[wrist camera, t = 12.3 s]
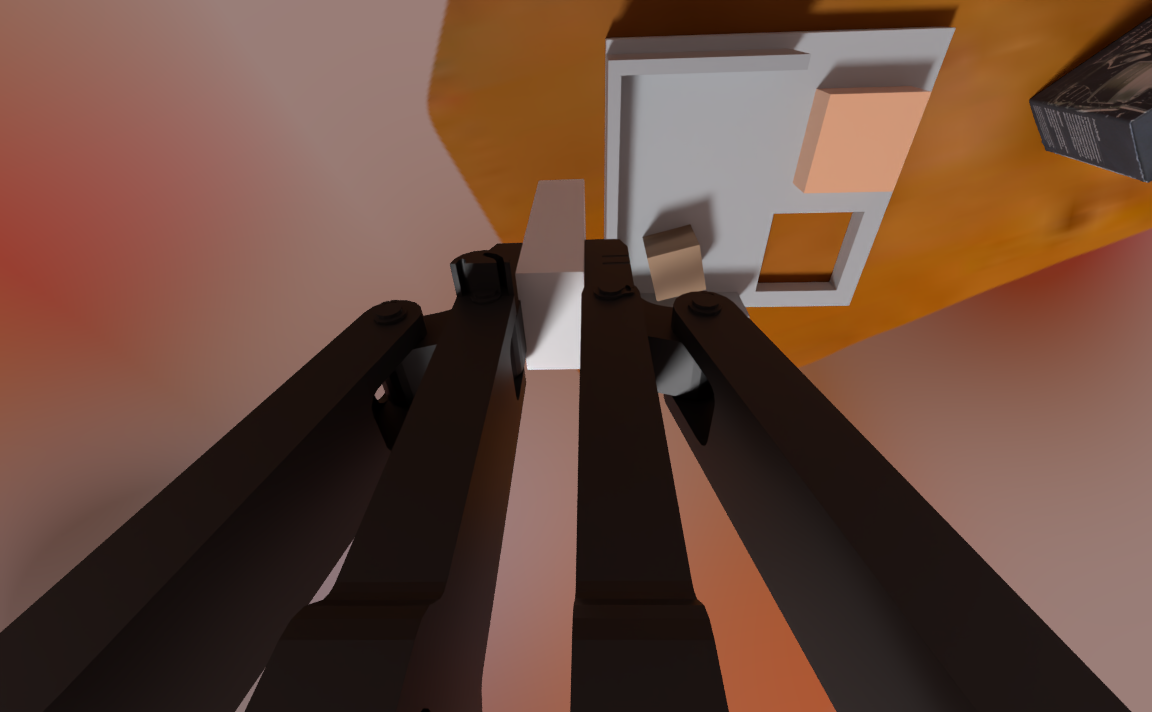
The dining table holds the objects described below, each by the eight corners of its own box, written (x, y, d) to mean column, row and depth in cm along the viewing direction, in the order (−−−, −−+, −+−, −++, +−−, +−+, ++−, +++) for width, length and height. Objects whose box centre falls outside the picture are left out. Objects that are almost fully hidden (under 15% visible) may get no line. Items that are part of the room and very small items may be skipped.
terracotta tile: (816, 88, 40) (830, 94, 38) (911, 85, 40) (931, 91, 37) (792, 183, 45) (803, 193, 43) (876, 181, 45) (892, 191, 42)
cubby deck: (605, 38, 40) (608, 44, 34) (940, 26, 39) (999, 31, 33) (603, 300, 56) (605, 333, 50) (841, 296, 55) (869, 330, 49)
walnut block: (642, 237, 49) (647, 258, 45) (690, 224, 48) (699, 244, 44) (651, 278, 52) (656, 301, 48) (696, 266, 51) (706, 289, 47)
